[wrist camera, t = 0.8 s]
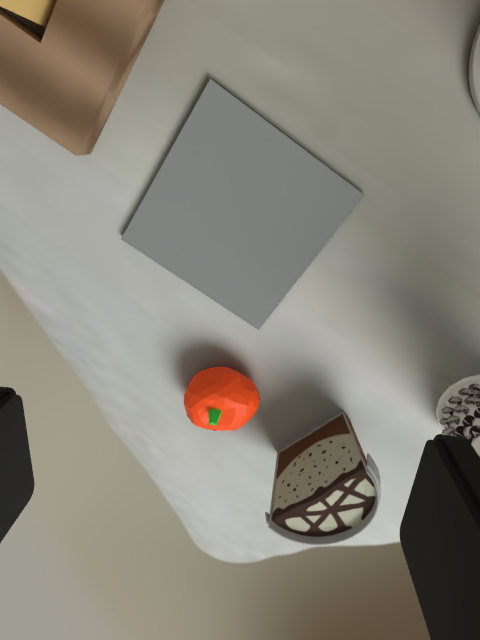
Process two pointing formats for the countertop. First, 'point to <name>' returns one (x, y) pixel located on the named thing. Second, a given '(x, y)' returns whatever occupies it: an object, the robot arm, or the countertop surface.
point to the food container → (324, 486)
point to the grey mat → (239, 208)
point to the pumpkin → (220, 399)
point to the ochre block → (31, 9)
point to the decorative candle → (461, 410)
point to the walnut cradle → (72, 66)
